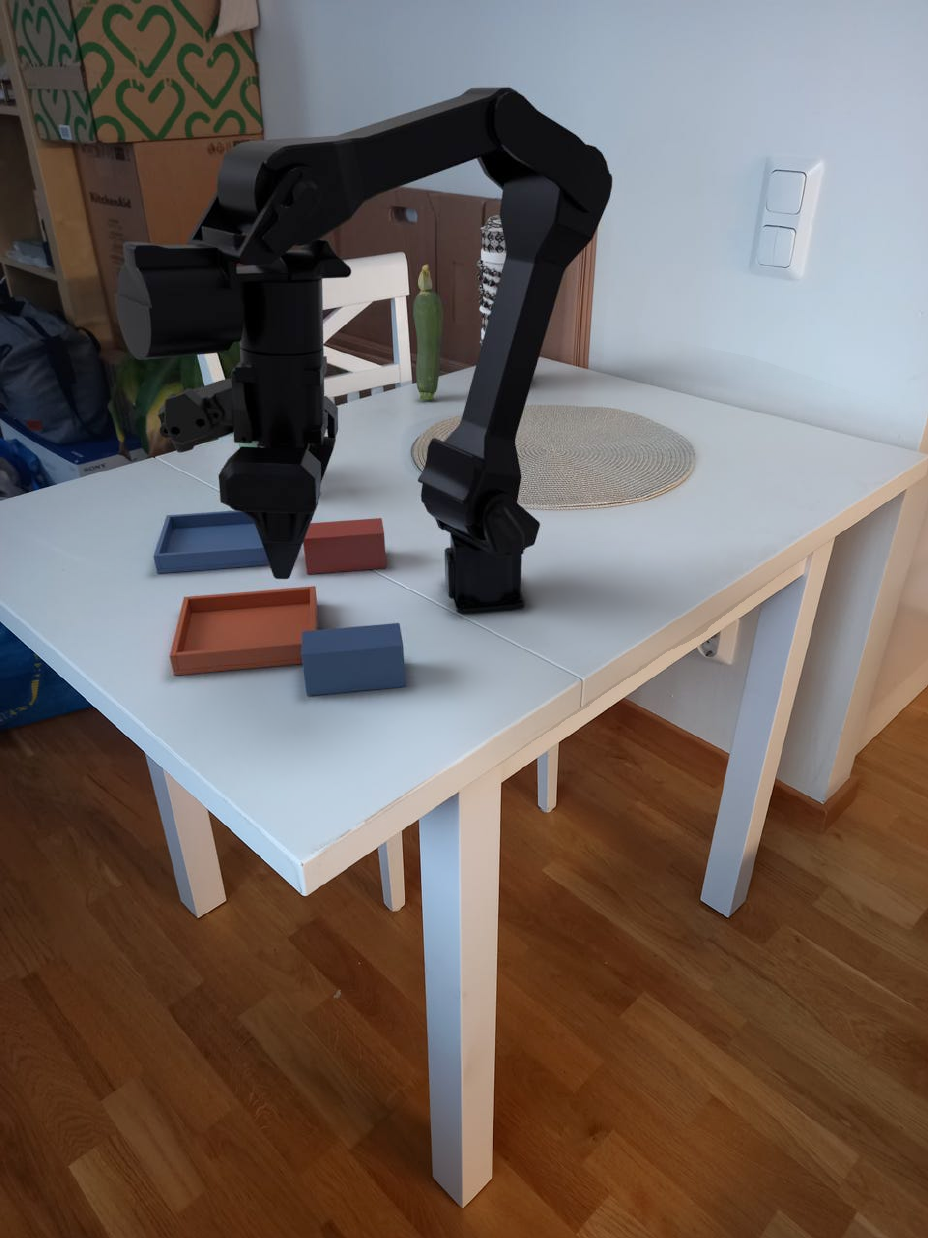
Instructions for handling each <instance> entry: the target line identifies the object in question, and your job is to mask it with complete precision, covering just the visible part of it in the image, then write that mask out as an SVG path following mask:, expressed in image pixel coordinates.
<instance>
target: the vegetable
mask: <svg viewBox="0 0 928 1238" xmlns="http://www.w3.org/2000/svg"><path fill="white" fill-rule="evenodd" d="M432 280H433V279H432V278H431V272H430V270H429V264H425V265H423V266H422V267H421V271H420V273H419V276H418V280H417V281H418V282H417V285H418V289H419V290H420V292H419V293H418V294H417V295H416V296H415V298H414V301H413V304H412V305H413V306H412V307H413V308H412V315H413V321H414V327H415V333H416V347H417V349H416V350H417V353H416V363H415V364H416V365H415V374H416V375H415V376H416V387H417V390H418V392H419V398H420V401H421V402H424V401H427V402H429V401H432V400H434V396H435V393H436V392H437V390H438V385H439V377H440V368H441V367H440V366H441V349H442V348H441V347H442V345H441V344H442V337H443V331H444V330H443V329H444V309H443V304H442V300H441V298H440V295H438V293H436V292H435V290H432V289H433V281H432Z"/></svg>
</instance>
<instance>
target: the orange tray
mask: <svg viewBox="0 0 928 1238" xmlns="http://www.w3.org/2000/svg"><path fill="white" fill-rule="evenodd" d="M318 610H319V609H318V597H317V589H316V586H315V585H313V586H302V587H301V586H300V587H287V588H276V589H264V590H263V589H262V590H253V591H240V592H228V593H227V592H226V593H214V594H203V595H190V596H183V600H182V603H181V607H180V612H179V616H178V620H177V623H176V629H175V633H174V636H173V641H172V645H171V649H170V653H169V660H170V664H171V668H172V673H173V676H182V675H183V676H184V675H185V676H186V675H195V674H206V673H215V672H225V671H228V672H229V671H238V670H249V669H259V668H271V667H281V666H282V667H283V666H292V665H303V663H302V631H312V630H319V617H318V616H319V615H318V614H319V613H318Z"/></svg>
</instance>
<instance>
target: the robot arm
mask: <svg viewBox="0 0 928 1238" xmlns="http://www.w3.org/2000/svg"><path fill="white" fill-rule="evenodd" d="M474 160H477V162H478V164H479V166H480V168H481V170H482V171H483V174H484V175H485V177H487V178H489V180H490V181H492V182H493V184H495V185H496V186H497V187H498V188H499V189H500V190H501V191H502V195H501V200H500V201H501V202H500V207H499V215H500V220H501V225H502V231H503V236H504V241H505V246H506V258H505V262H504V265H503V269H502V273H501V276H500V280H499V284H498V287H497V291H496V295H495V298H494V302H493V306H492V309H491V313H490V317H489V320H488V324H487V328H486V331H485V335H484V339H483V342H482V346H480V350H479V354H478V357H477V361H476V365H475V368H474V372H473V376H472V380H471V383H470V386H469V390H468V393H467V398H466V401H465V405H464V408H463V413H462V416H461V420H460V421H459V423H458V426H457V427H456V428H455V429H454V430H453V431H452V432H451V433H450V434H449V436H447V437H446V439H445V440H444V441H442V440H441V439H438V438H436V437H433V438H432V439H431V440H430V442H429V444H428V445H427V452H426V458H425V459H426V460H425V464H424V466H423V470H422V472H421V473H420V475H419V477H418V478H417V482H418V483H419V484H422V485H421V491H420V499H421V503H423V505H424V508H425V509H426V511H427V513H428V514H430V516H431V517H433V518H434V520H435V522H436V525H437V527H438V529H440V530H442V531H446V532H448V533H449V536H450V537H449V541H450V542H449V543H450V547H446V548H445V549H444V580H445V581H444V582H445V589H446V592H447V596H448V597H449V599H450V600H453V604H454V607H455V611H456V613H459V614H468V613H480V612H490V611H502V610H503V611H504V610H514V609H522V608H525V606H526V600H525V598H524V595H523V593H522V564H523V563H522V562H523V561H522V560H523V557H522V555H524V552H525V551H526V549H527V548H530V547H533V546H534V545H535V543H536V540H537V538H538V534H539V530H540V527H541V523H540V521H538V519H536V518H535V517H534V516H533V515H532V514H531V513H530V512H529V511H527V510H526V509H525V508H524V507H523V506H522V505H520V503H518V499H519V493H520V488H521V483H522V471H521V465H520V460H519V456H518V449H517V445H516V438H517V434H518V431H519V427H520V423H521V419H522V416H523V413H524V409H525V406H526V404H527V400H528V396H529V394H530V393H529V392H530V390H531V387H530V386H532V384H531V383H533V379H534V375H535V372H536V370H537V365H538V362H539V359H540V356H541V352H542V348H543V345H544V341H545V338H546V334H547V331H548V328H549V324H550V322H551V321H550V320H551V317H552V314H553V311H554V307H555V304H556V301H557V297H558V295H559V294H558V293H559V290H560V287H561V284H562V280H563V277H564V274H565V271H566V270H567V268H568V267H569V266H570V264H572V262H573V261H574V260H575V259H576V258H577V257H578V256H579V255H580V254H581V252H582V251H583V250H584V249H585V248H586V247H587V246H588V245H589V244H590V242H592V240H593V238H594V236H595V234H596V232H597V229H598V227H599V225H600V222H601V220H602V218H603V216H604V213H605V211H606V208H607V206H608V204H609V202H610V199H611V194H612V188H613V175H612V173H610V170H609V165H608V161H607V160H606V158H605V155H604V154H603V152H602V151H601V150H600V149H598V148H597V146H595V145H590V144H586V143H585V142H584V141H583V140H582V139H581V138H580V137H579V136H578V135H577V134H575V133H574V132H572V131H571V130H570V129H568V128H566V127H565V126H563V125H561V124H560V123H558V122H557V121H555V120H554V119H553V118H550V117H548V116H547V115H545V114H544V113H542V112H541V111H540V110H538V109H537V108H536V107H535V106H534V105H533V104H532V103H531V101H529V100H528V99H527V98H526V97H525V96H524V94H521V93H520V92H519V91H518V90H516V89H514V88H511V87H509V86H508V87H505V86H503V87H471V88H469V89H467V90H465V91H464V92H463V93H461V94H460V95H458V96H455V97H452V98H449V99H445V100H443V101H440V102H436V103H433V104H430V105H427V106H424V107H421V108H418V109H415V110H412V111H409V112H406V113H403V114H399V115H396V116H394V117H389V118H387V119H384V120H381V121H378V122H375V123H371V124H368V125H365V126H362V127H359V128H356V129H353V130H349V131H347V132H343V133H341V134H337V135H326V136H308V137H307V136H306V137H305V136H304V137H287V138H285V137H284V138H275V139H273V138H272V139H262V140H250V141H242V142H240V143H238V144H236V145H235V146H232V147H231V148H230V149H228V150H227V152H225V154H224V155H223V157H222V161H221V164H220V167H219V170H218V172H217V182H216V191H215V193H214V195H213V196H212V198H211V200H210V202H209V203H208V206H207V207H206V209H205V210H204V212H203V213H202V216H201V217H200V219H199V221H198V223H197V224H196V226H195V228H194V229H193V231H192V233H191V235H189V238H188V240H187V243H186V244H154V243H150V242H146V241H125V242H124V243H123V245H122V252H123V259H124V263H123V264H122V266H121V268H120V269H119V274H118V278H117V293H115V294H114V304H115V311H116V318H117V321H118V326H119V329H120V332H121V335H122V338H123V340H124V342H125V344H126V347H127V349H128V350H129V352H130V354H131V355H132V356H133V357H134V358H135V359H137V360H138V361H143V360H154V359H155V360H156V359H164V358H165V359H166V358H167V359H168V358H176V357H177V358H178V357H188V356H198V355H199V356H200V355H210V354H221V353H222V354H223V353H226V352H228V351H230V350H231V348H232V346H233V345H234V343H238V342H239V356H240V360H239V361H238V363H237V364H236V365H235V366H234V367H233V368H232V369H231V372H230V377H229V378H225V379H220V380H218V381H215V382H212V383H209V384H205V385H203V386H199V387H196V388H190V387H188V388H186V389H185V390H184V391H182V392H181V393H179V394H175V393H170V394H169V395H168V396H167V397H166V398H165V399H164V403H163V404H162V406H160V408H159V409H158V410H157V412H158V414H157V417H158V419H159V421H160V426H159V433H160V435H161V436H162V437H163V438H165V439H170V440H171V442H172V443H173V446H174V449H175V450H176V452H177V453H179V454H180V453H185V452H189V451H191V450H194V448H195V447H196V446H198V445H201V444H204V443H205V444H206V443H208V442H211V441H214V440H218V439H220V438H223V437H226V436H230V435H232V434H233V443H234V444H239V443H252V442H258V444H257V446H258V447H244V446H241V447H238V449H237V450H236V451H235V452H234V453H233V454H232V455H230V456H229V458H228V459H227V460H226V462H225V464H224V465H223V467H222V469H221V470H220V472H219V474H218V486H219V498H220V499H219V500H220V503H221V504H224V505H226V506H228V507H229V508H230V509H232V511H234V510H236V511H241V512H243V513H244V514H246V515H247V516H249V517H250V518H251V519H252V520H253V522H254V524H255V526H256V529H257V531H258V534H259V537H260V539H261V542H262V545H263V548H264V551H265V553H266V556H267V559H268V562H269V565H268V566H269V568H270V571H271V573H272V576H273V578H274V579H275V580H288V579H290V577H291V575H292V572H293V570H294V566H295V564H296V562H297V559H298V556H299V554H300V551H301V549H302V546H303V541H304V539H305V536H306V533H307V531H308V528H309V526H310V523H312V520H313V517H314V515H315V512H316V511H317V509H318V505H319V501H320V498H321V486H322V482H323V479H324V476H325V473H326V471H327V469H328V466H329V463H330V460H331V457H332V455H333V452H334V449H335V445H336V441H337V439H336V438H337V435H338V431H339V408H338V406H337V405H336V404H335V403H334V402H333V401H332V400H331V399H330V398H329V397H328V396H327V395H325V376H326V373H327V371H328V356H326V355H324V353H325V352H324V314H323V313H324V307H323V306H324V304H323V299H324V298H323V279H344V278H345V279H346V278H350V276H351V274H352V269H351V267H350V266H349V265H348V264H347V263H346V262H345V261H344V260H343V259H342V258H341V257H340V256H338V254H337V253H336V252H335V251H334V250H333V248H332V246H331V244H330V242H329V241H328V240H326V239H322V238H324V237H325V236H326V235H329V234H330V233H331V232H333V231H335V230H336V229H338V228H339V227H341V226H343V225H344V224H346V223H347V222H348V221H350V220H351V219H352V218H353V217H354V216H355V215H356V214H357V212H358V211H359V210H360V209H361V207H362V206H363V205H365V203H367V202H368V201H370V200H372V199H373V198H375V197H376V196H378V195H380V194H383V193H386V192H389V191H392V190H394V189H397V188H399V187H402V186H405V185H408V184H410V183H414V182H416V181H418V180H419V181H420V180H421V179H425V178H426V177H430V176H433V175H436V174H438V173H440V172H443V171H446V170H449V169H451V168H455V167H457V166H460V165H462V164H465V163H469V162H471V161H474ZM243 233H244V234H243ZM300 246H301V247H300ZM293 247H300V248H298V249H297V250H296V249H295V250H293V249H292V248H293ZM291 249H292V250H291ZM237 265H241V266H237ZM242 265H243V266H242ZM326 433H327V436H325V435H326Z"/></svg>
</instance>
